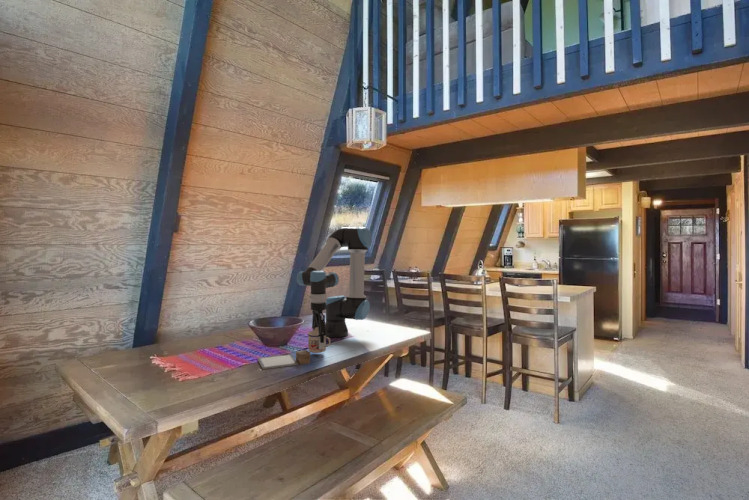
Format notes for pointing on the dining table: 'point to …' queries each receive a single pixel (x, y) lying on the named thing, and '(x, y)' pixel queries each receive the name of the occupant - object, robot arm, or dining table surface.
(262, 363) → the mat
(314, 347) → the teacup with lid
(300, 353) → the walnut block
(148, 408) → the dining table surface
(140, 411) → the dining table surface
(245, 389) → the dining table surface
